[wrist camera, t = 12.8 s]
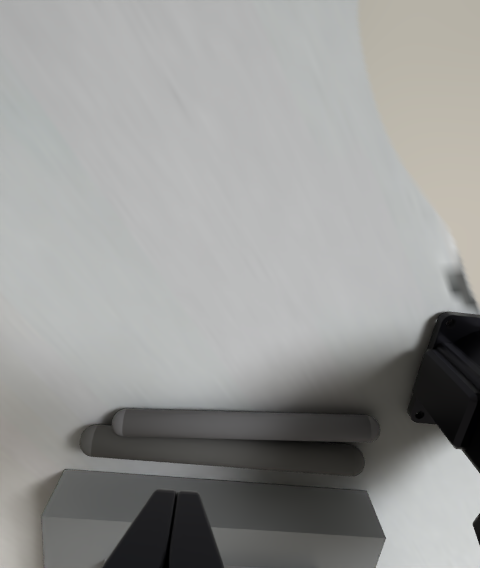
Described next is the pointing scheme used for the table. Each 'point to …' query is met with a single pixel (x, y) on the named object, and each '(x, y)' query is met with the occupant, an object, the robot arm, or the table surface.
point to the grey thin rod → (245, 425)
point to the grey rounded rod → (226, 452)
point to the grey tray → (216, 521)
